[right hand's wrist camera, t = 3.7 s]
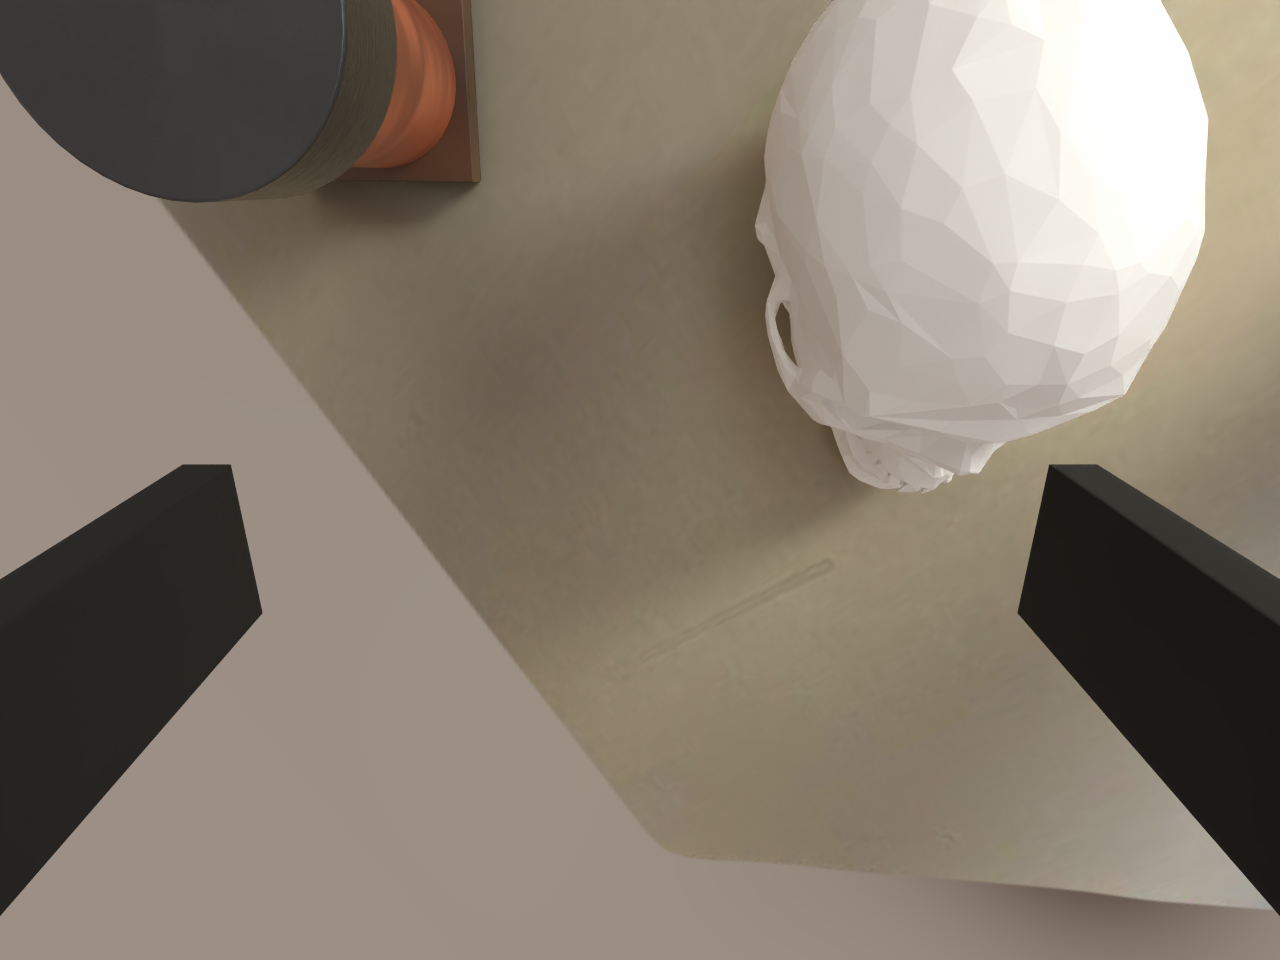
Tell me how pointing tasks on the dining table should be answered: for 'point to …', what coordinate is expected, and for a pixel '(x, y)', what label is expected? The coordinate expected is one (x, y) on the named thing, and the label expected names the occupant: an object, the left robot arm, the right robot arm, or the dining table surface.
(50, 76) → the canister lid
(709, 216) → the dining table surface
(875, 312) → the skull
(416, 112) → the canister stand
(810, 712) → the dining table surface
